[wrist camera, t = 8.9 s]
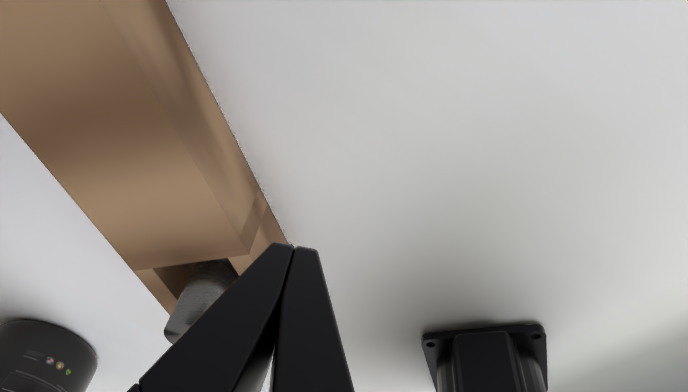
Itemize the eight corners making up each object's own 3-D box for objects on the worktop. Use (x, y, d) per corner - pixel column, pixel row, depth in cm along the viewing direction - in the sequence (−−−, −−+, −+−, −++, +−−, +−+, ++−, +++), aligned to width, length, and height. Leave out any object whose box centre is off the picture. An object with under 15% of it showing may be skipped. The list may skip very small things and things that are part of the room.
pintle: (256, 251, 22) (222, 349, 18) (220, 256, 23) (179, 353, 18) (239, 222, 21) (199, 319, 17) (202, 228, 22) (154, 324, 17)
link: (-63, -99, 14) (-164, -84, 11) (82, -163, 12) (2, -163, 10) (207, 282, 24) (185, 333, 22) (301, 270, 23) (289, 323, 20)
